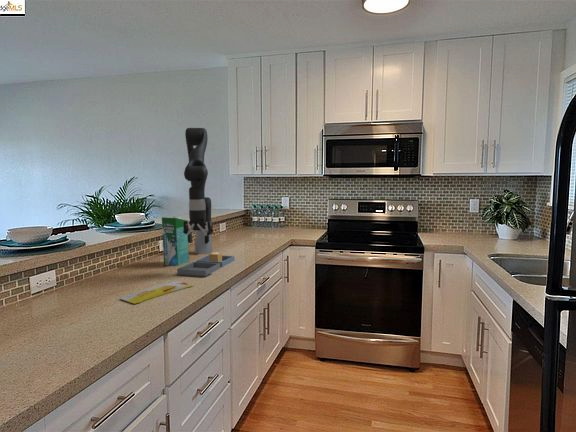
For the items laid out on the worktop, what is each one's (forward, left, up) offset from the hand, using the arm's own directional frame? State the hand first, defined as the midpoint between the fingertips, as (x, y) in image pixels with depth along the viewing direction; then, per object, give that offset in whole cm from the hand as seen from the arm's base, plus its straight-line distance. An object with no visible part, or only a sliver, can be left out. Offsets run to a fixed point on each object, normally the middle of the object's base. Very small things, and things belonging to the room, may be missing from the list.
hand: (198, 243), depth 175 cm
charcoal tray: (0, 0, -14) cm, 14 cm away
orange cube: (0, +17, -14) cm, 22 cm away
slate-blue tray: (0, +17, -14) cm, 22 cm away
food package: (0, -32, -15) cm, 35 cm away
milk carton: (-20, +12, -14) cm, 27 cm away
